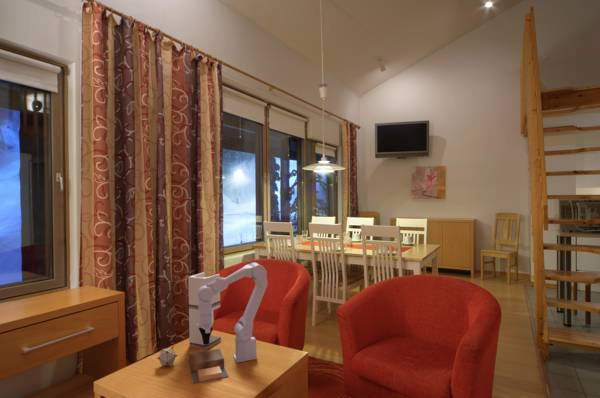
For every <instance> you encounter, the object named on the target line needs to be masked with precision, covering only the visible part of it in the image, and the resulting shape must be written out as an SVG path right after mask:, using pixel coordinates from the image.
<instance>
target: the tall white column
mask: <svg viewBox="0 0 600 398" xmlns="http://www.w3.org/2000/svg"><path fill="white" fill-rule="evenodd" d="M205 274H206V272H203V271H202V272H200V273H197V274H193V275H190V276H188V277H187V278H188V279H187V280H188V281H187V282H188V284H187V285H188V322H189V323H188V326H189V327H188V331H189V332H188V333H189V336H188V337H189V347H192V348H197V349H202V350H205V351H208V350H209V349H210V348H211V347H213V346H215V345H217V344H219V343H220V342H221V341H222V338H221V336H216V335H210V339H209V344H205V345H204V344H203V340H202V335H201V333H200V331H199V328H200V327H197V326H196V324H198V323H199V307H198V304H199V296H198V295H197V292H198V289H199V288H200V287H201V286H207V285H206V284H207V283H208V284H209V283H211V282H213V281H215V280H216V278H218V277H219V278H220V277H221V276H220V275H221V274H220V273H217V274H213V275H211V276H206V275H205ZM211 303H212V322H213V324H215V323H214V311H215V310H217V309H219V308H221V292H219V293H217V294H216V295H213V297H212V298H211Z"/></svg>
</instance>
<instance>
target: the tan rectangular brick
mask: <svg viewBox="0 0 600 398" xmlns="http://www.w3.org/2000/svg"><path fill="white" fill-rule="evenodd" d="M198 377H199V381H205V380H210V379H215V378H220V377H222V371H221V369H220V366H218V367H212V368H207V369H202V370H198Z"/></svg>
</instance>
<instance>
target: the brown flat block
mask: <svg viewBox="0 0 600 398" xmlns="http://www.w3.org/2000/svg"><path fill="white" fill-rule="evenodd" d="M188 365H189V370H190V374H191V373H195V372H198V370H202V369H207V368H212V367H218V366H220V368H221V367H225V358H224V355H223V353H222V351H221V349H220V348H218V349H210V350H205V351H200V352H194V353H193V352H192V353H189V354H188Z"/></svg>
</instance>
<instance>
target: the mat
mask: <svg viewBox="0 0 600 398" xmlns="http://www.w3.org/2000/svg"><path fill="white" fill-rule="evenodd" d="M220 369H221V371H222V377H220V378H215V379H210V380H205V381H199V377H198V372H195V373H191V372H190V375H191V378H192V383H193V384H194V385H195V384H199V383H206V382H210V381H215V380H221V379H224V378H225V379H226V378H229V374H228V372H227V370H226V367H225V366H224V367H221V368H220Z"/></svg>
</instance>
